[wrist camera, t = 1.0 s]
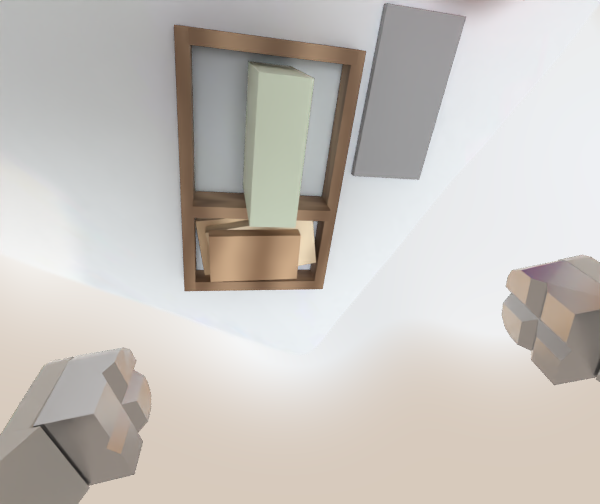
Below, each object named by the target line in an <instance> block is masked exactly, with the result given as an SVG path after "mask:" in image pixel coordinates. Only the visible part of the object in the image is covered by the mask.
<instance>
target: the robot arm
mask: <svg viewBox="0 0 600 504" xmlns="http://www.w3.org/2000/svg"><path fill="white" fill-rule="evenodd" d="M506 287H507V288H508V289H509V291H510V292H511V294H510V296H508V298H507V299H506V300H505V301H504V302H503V310H502V318H503V322H504V326H505V328H506V330H507V332H508V333H509V335H510V337H511V338H512V339H513V340H514V341H515V342H516V343H517V344H518V345H520V346H522V347H524V348H526V349H529V350H531V360H532V361H533V362H534V364H535V365H536V366H537V367H538V368H539V369H540V370H541V371H542V372H543V373H544V375H545V376H546V377H547V378H548V379H549V380H550V381H551V382H552V383H553V384H554V385H557V384H562V383H568V382H573V381H578V380H584V379H589V378H595V377H597V378H596V380H598V381H600V262H598V261H597V260H595V259H593V258H592V257H589V256H584V255H579V256H574V257H570V258H565V259H561V260H558V261H555V262H550V263H545V264H540V265H535V266H530V267H526V268H520V269H516V270H512V271H511V272H510V274H509V275H508V278H507V283H506ZM135 364H136V359H135V357H134V356H133V354H132V352H131V350H130V349H127V348H119V349H113V350H107V351H102V352H96V353H90V354H85V355H80V356H76V357H70V358H64V359H59V360H54V361H51V362H49V363H47V364H46V365H44V366H43V367H42V369H41V370H40V372H39V374H38V375H37V377H36V378H35V380H34V382H33V383H32V385H31V386H30V388H29V390H28V391H27V393H26V394H25V396H24V398H23V399H22V401H21V402H20V404H19V405H18V407H17V409H16V410H15V412H14V413H13V415H12V417H11V418H10V420H9V422H8V423H7V425H6V426H5V428H4V430H3V431H2V433H1V434H0V504H78V503H79V501H80V500H81V499H82V498H83V496H84V495H85V494H86V492H87V491H88V489H89V485H93V484H97V483H101V482H105V481H110V480H113V479H118V478H122V477H126V476H130V475H134V474H135V470H136V466H137V462H138V458H139V455H140V451H141V447H142V443H143V441H142V439H141V437H140V436H139V434H138V432H139V431H140V430H141V429H142V427H143V426H144V425H145V424H146V423H147V422H148V419H149V415H150V411H151V392H150V389H149V385H148V382H147V380H146V378H145V376H144V375H142V374H140V373H138V372H136V371H135V370H134V367H135Z"/></svg>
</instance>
